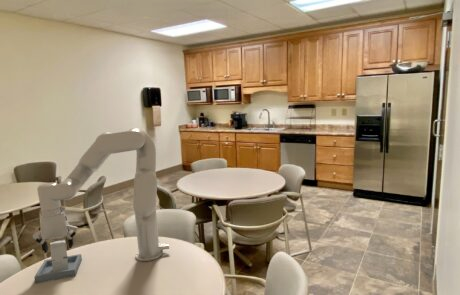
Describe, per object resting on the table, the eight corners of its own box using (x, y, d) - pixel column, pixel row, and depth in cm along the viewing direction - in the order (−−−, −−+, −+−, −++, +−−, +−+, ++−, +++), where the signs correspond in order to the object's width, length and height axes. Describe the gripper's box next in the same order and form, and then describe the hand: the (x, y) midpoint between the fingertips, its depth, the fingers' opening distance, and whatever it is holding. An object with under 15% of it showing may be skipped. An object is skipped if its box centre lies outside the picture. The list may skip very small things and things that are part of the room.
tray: (81, 259, 140) (81, 253, 140) (75, 276, 127) (74, 269, 126) (45, 266, 136) (44, 260, 135) (35, 283, 123) (34, 276, 122)
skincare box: (53, 273, 128) (49, 246, 126) (52, 268, 132) (48, 242, 130) (69, 268, 131) (65, 242, 129) (68, 264, 135) (65, 238, 133)
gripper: (76, 205, 133) (82, 241, 136) (32, 212, 129) (39, 249, 131) (72, 211, 126) (78, 249, 129) (25, 218, 121) (33, 257, 124)
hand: (58, 249), depth 130 cm, fingers open, 9 cm apart
